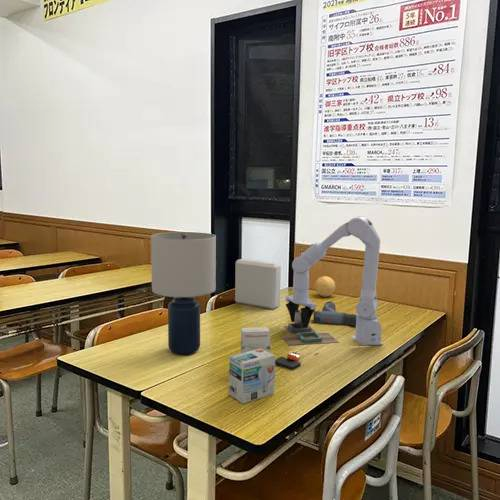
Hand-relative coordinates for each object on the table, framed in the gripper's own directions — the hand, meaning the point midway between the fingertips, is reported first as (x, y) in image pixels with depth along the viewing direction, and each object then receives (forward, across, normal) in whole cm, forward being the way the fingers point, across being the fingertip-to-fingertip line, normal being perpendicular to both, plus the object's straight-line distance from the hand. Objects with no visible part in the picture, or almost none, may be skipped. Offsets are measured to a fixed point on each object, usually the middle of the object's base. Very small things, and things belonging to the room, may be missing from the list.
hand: (299, 323), depth 176 cm
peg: (+2, 0, 0) cm, 2 cm away
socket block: (+3, 0, 0) cm, 3 cm away
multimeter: (+4, -19, +20) cm, 27 cm away
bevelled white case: (+3, +38, -10) cm, 40 cm away
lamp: (+3, +7, +45) cm, 46 cm away
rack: (+3, -10, +5) cm, 11 cm away
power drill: (+3, +3, -24) cm, 24 cm away
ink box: (+3, -17, +34) cm, 38 cm away
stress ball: (+3, +32, -47) cm, 57 cm away
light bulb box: (+3, -31, +47) cm, 56 cm away
